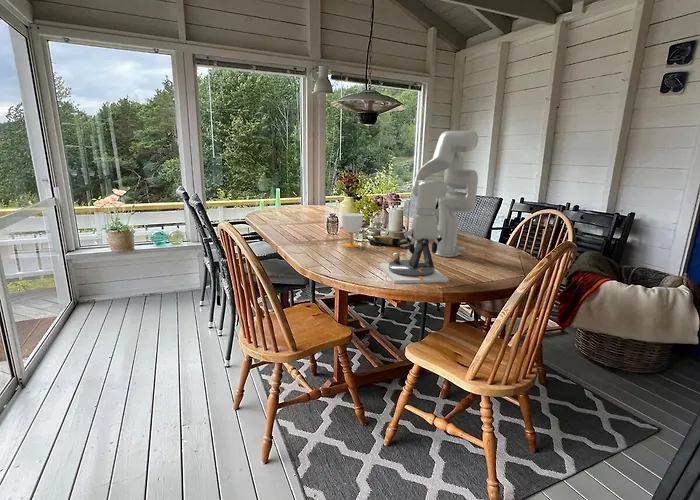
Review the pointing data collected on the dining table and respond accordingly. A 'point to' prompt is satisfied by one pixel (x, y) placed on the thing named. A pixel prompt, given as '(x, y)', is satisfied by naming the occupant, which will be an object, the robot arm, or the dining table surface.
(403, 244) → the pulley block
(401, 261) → the disc
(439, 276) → the base
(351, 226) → the cup
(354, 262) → the dining table surface
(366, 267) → the dining table surface
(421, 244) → the dark grey a-frame stand
